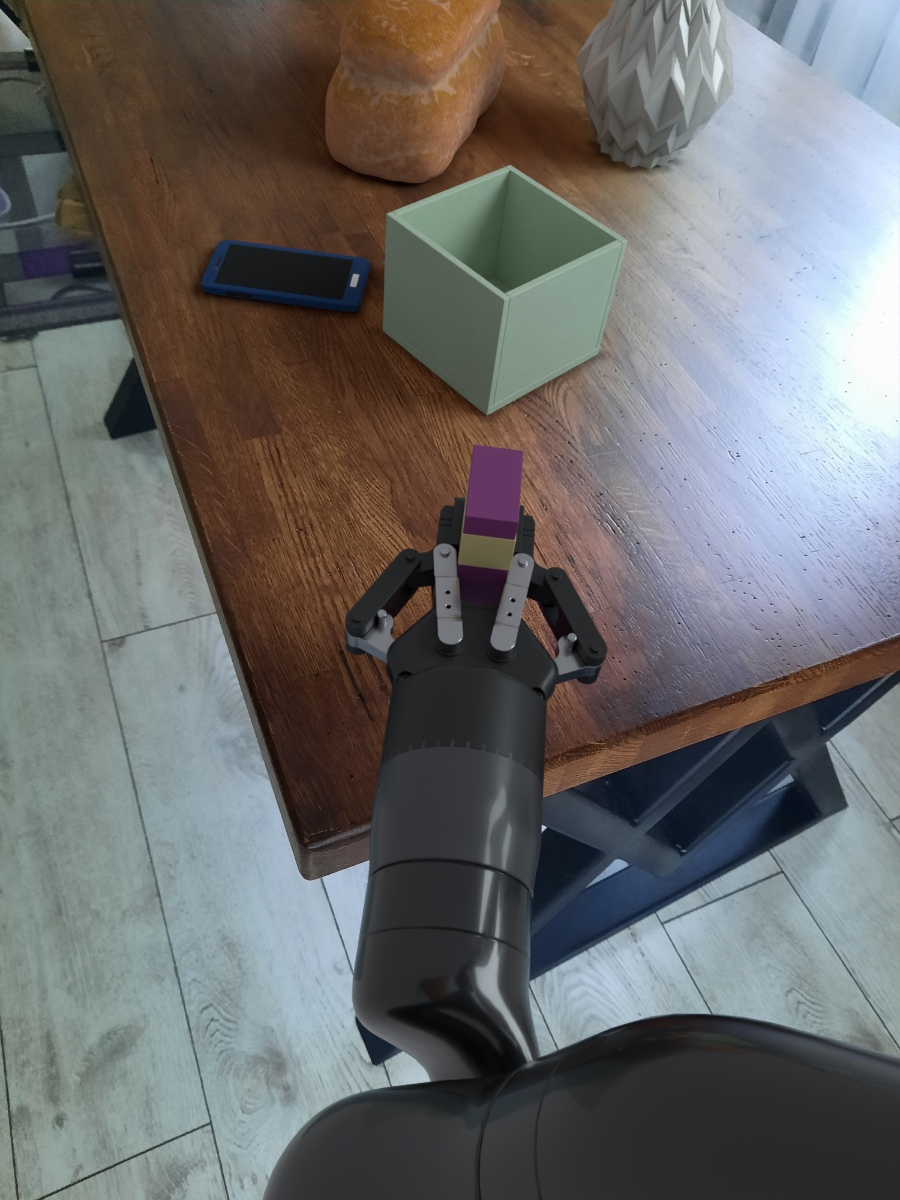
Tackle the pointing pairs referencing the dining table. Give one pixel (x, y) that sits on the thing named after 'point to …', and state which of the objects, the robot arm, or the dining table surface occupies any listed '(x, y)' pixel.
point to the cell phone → (286, 275)
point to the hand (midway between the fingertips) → (487, 512)
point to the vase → (655, 76)
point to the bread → (412, 84)
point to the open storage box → (498, 285)
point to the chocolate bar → (489, 523)
